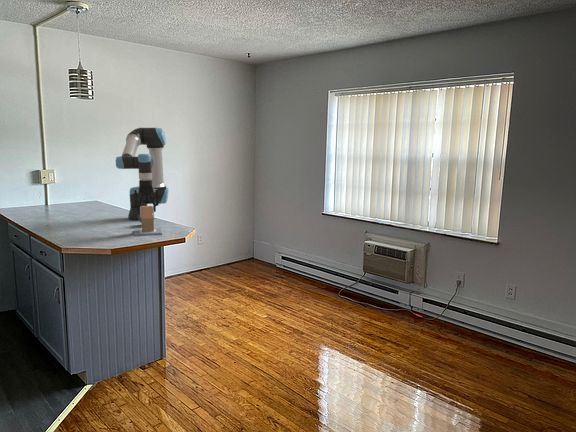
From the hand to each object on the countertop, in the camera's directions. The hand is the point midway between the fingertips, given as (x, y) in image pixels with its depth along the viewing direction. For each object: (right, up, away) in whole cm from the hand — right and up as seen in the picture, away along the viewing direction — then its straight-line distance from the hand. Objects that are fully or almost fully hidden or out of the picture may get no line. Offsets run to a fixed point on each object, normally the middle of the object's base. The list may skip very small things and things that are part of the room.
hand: (147, 217), depth 271 cm
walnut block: (0, -8, +2) cm, 8 cm away
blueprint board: (0, -10, +2) cm, 10 cm away
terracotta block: (0, 0, 0) cm, 0 cm away
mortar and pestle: (-7, -6, +24) cm, 26 cm away
